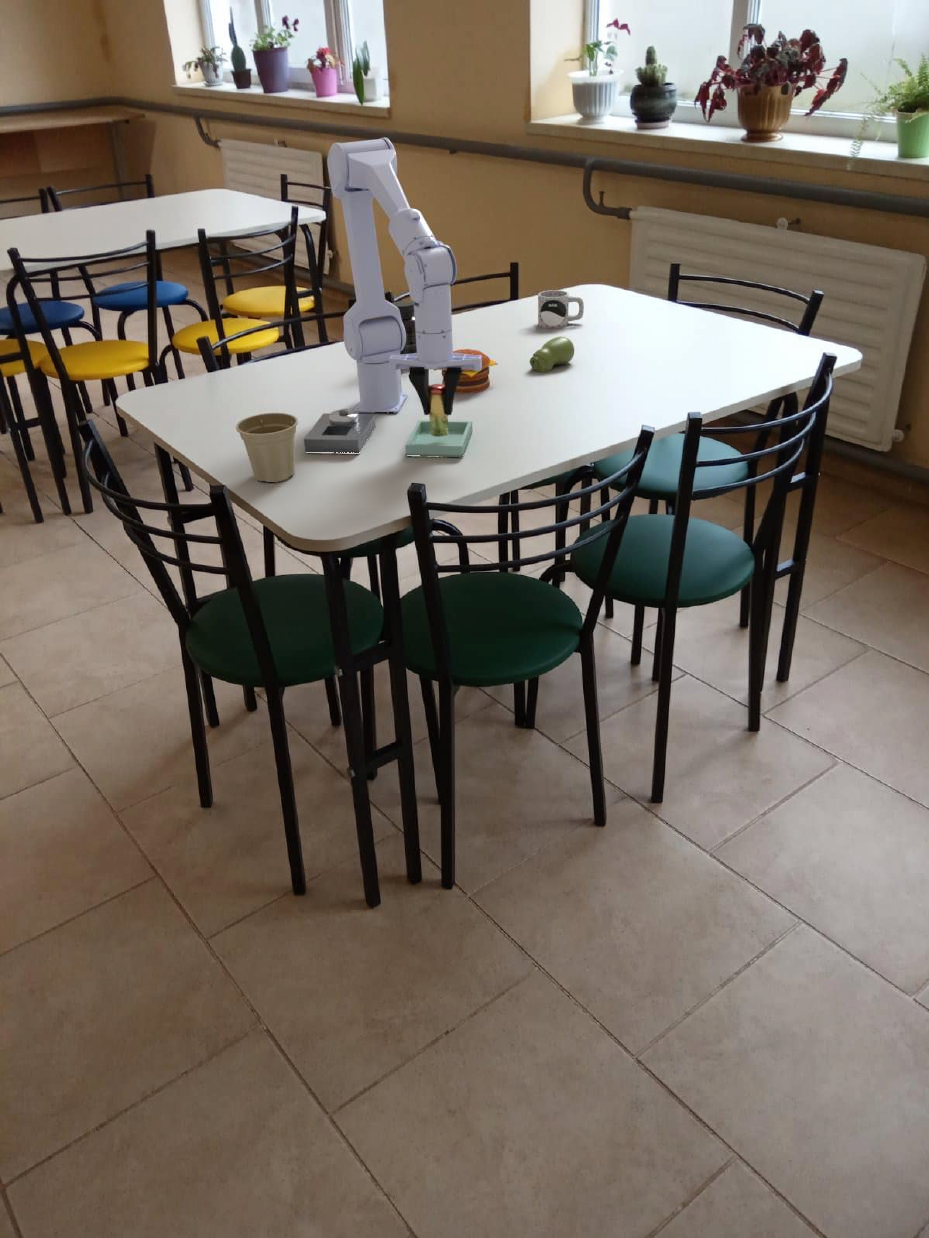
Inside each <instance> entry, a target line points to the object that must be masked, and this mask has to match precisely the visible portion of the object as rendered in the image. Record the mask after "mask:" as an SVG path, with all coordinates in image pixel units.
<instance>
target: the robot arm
mask: <svg viewBox="0 0 929 1238" xmlns="http://www.w3.org/2000/svg"><path fill="white" fill-rule="evenodd" d="M326 162H327V169H328V171H327V172H328V176H329V183H330V188H331V193H332V196H333V198H335V199H337V200H340V201H341V206H342V207H341V208H342V213H343V220H344V225H345V233H346V238H347V248H348V252H349V253H348V254H349V259H350V266H351V274H352V279H353V286H354V292H355V293H354V294H355V299H356V301H355V302H354V303H353V305H352V306H351V307H350V308H349V309H348V310H347V312H345V314H344V315H343V342H344V343H343V344H344V347H345V350H346V353H347V354H348V356H349V357H350V358H351V359H353V360H354V361H356V369H357V371H356V372H357V379H358V380H357V381H358V392H359V393H358V394H359V399H360V400H359V402H358V404H357V405H356V406H355V408H354V409H353V410H356V411H358V413H375V412H387V413H388V414H390V413H389V412H394V413H393V414H395V413H396V412H397V413H399V411H400V410H401V408H402V406H403V404H404V403H405V401H406V400H407V397H408V396H409V395H408V393H407V392H403V385H402V384H403V383H402V373H401V372H402V370H409V373H408V376H407V377H408V379H409V382H410V384H412V386H413V388H414V389H415V391H416V394H417V395H418V398H419V401H420V404H421V406H422V410H423V414H424V416H429V403H428V386H429V385H430V383H429V382H430V377H429V375H430V374H429V373H430V370H434V369H447V371H446V372H445V374H444V383H445V391H446V415H448V416H452V413H453V408H454V400H455V395H456V388H457V385H458V382H459V379H460V377H461V374H462V372H463V370H474V371H481V369H482V356H481V355H468V354H460V353H453V351H454V343H453V340H454V339H453V319H452V318H453V317H452V298H451V285H453V284H454V283H455V282H456V279H457V275H458V267H457V260H456V257H455V255H454V252H453V250H452V248H451V247H450V246H449V245H447V244H444V243H443V242H442V240H437V239H436V237H435V235H434V233H433V232H432V230H431V228H430V226H429V225H428V223H427V221H426V219H425V218H424V216H423V214H422V212H421V211H420V210H418V209H417V208H416V209H415V208H411V207H410V203H409V202H408V199H407V196H406V195H405V193H404V190H403V187H402V185H401V183H400V181H399V179H398V177H397V175H398V158H397V153H396V149H395V146H394V144H393V142H391V141H390V139H389V138H388V137H381V138H378V139H368V140H367V139H366V140H360V141H359V140H358V141H357V140H356V141H351V142H334V143H332V145H331V146H330V149H329V151H328V155H327V161H326ZM374 199H375V200H376V202H377V203H378V204H379V206H380V207H381V209H382V210H383V211H384V213H385V215H386V216H387V217H388V219H389V223H388V224H389V225H388V233H389V235H390V236H391V239H392V240H393V241H392V242H394V244H395V246H396V248H397V251H399V253H400V255H401V257H402V259H403V261H404V267H403V270H404V272H403V273H404V275H405V280H406V283H407V286H408V292H409V298H410V301H412V302H414V315H415V332H416V347H417V353H413V354H403V355H400V351H402V350H403V348H404V346H405V343H406V332H405V328H404V325H403V323H402V319H401V315H400V311H399V309H398V308H397V307H396V306H394V305H393V304H392V302H390V301H388V300H386V297H385V289H384V282H383V275H382V267H381V259H380V253H379V252H380V251H379V245H378V238H377V233H376V223H375V218H374V217H375V216H374V210H373V201H374Z"/></svg>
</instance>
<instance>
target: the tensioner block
mask: <svg viewBox="0 0 929 1238" xmlns="http://www.w3.org/2000/svg"><path fill="white" fill-rule="evenodd" d="M374 428H375V429H376V417H375V414H374V413H360V412H358V411H356V410H354V409H351V408H350V409H349V408H344V409H343V408H342V409H337V410H334V411H332V412H330V413H328V412H327V413H324V412H323V413H322V414H321V416H320V417H319V419H318V420H317V421H316V423H314V425H313V426H312V428H311V429H310V431H308V433H307V434H306V436H305V437H304V438H303V442H304V443H303V444H304V448H305V449H304V451H305V453H306V452H334V453H336V452H338V453H340V452H341V453H342V452H343V453H344V452H345V453H347V452H349V453H351V452H352V453H353V452H354V453H359V452H360V451H361V449H362V448H363V446H364V445H365V446H366V444H367V443H366V441H367V439H368V438H369V437H370V438H371V436H372V435H371V433H372V431H373V430H374ZM374 431H375V430H374ZM374 431H373V432H374ZM372 434H373V433H372ZM370 435H371V436H370ZM370 438H369V439H370ZM367 442H368V441H367ZM365 443H366V444H365ZM365 446H364V447H365ZM363 449H364V448H363ZM363 449H362V450H363ZM361 452H362V451H361Z"/></svg>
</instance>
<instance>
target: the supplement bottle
mask: <svg viewBox="0 0 929 1238" xmlns="http://www.w3.org/2000/svg"><path fill="white" fill-rule="evenodd" d="M391 304H393V305H394V306H396V307H397V308H398V309H399V311H400V315H401V319H402V323H403V325H404V328H405V332H406V343H405V346H404V348H403V350H402V351H400V355H403V354H413V353H417V347H416V332H415V315H414V301H413V300H399V301H394V302H391Z"/></svg>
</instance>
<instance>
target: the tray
mask: <svg viewBox="0 0 929 1238" xmlns="http://www.w3.org/2000/svg"><path fill="white" fill-rule="evenodd" d="M448 430H449V433H448V435H446V436H441V437H436V436H432V435H431V434H430V420H427V419H426V420H417V422H416V423H415V426H414V428H413V430H412V431H411V434H410V435H409V438H408V439H407V442H406V443H405V456H406V455H420V456H439V457H441V456H442V457H463V458H464V456H465V454H464V453H466V451H467V448H468V446H469V443H470V441H469V440H471V437H472V435H473V433H472V432H473V421H472V420H448ZM468 442H469V443H468ZM467 445H468V446H467ZM465 450H466V451H465ZM463 455H464V456H463Z"/></svg>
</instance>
